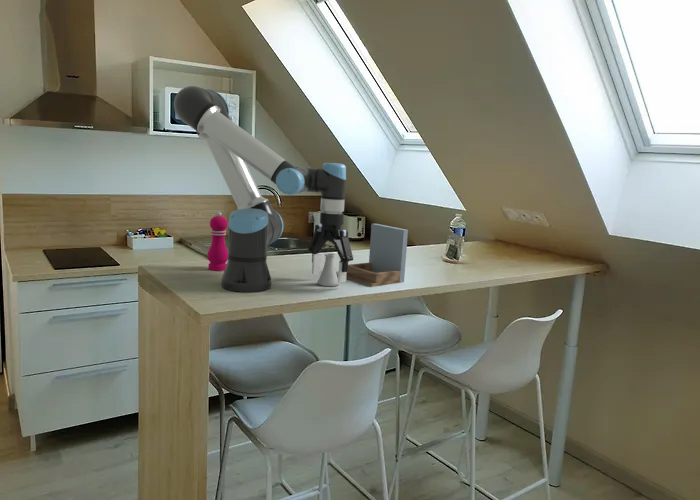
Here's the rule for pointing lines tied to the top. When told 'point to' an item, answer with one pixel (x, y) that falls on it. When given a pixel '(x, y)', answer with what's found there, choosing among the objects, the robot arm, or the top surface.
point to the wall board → (388, 249)
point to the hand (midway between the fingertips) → (328, 277)
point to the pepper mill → (218, 243)
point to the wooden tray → (371, 275)
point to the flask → (328, 272)
